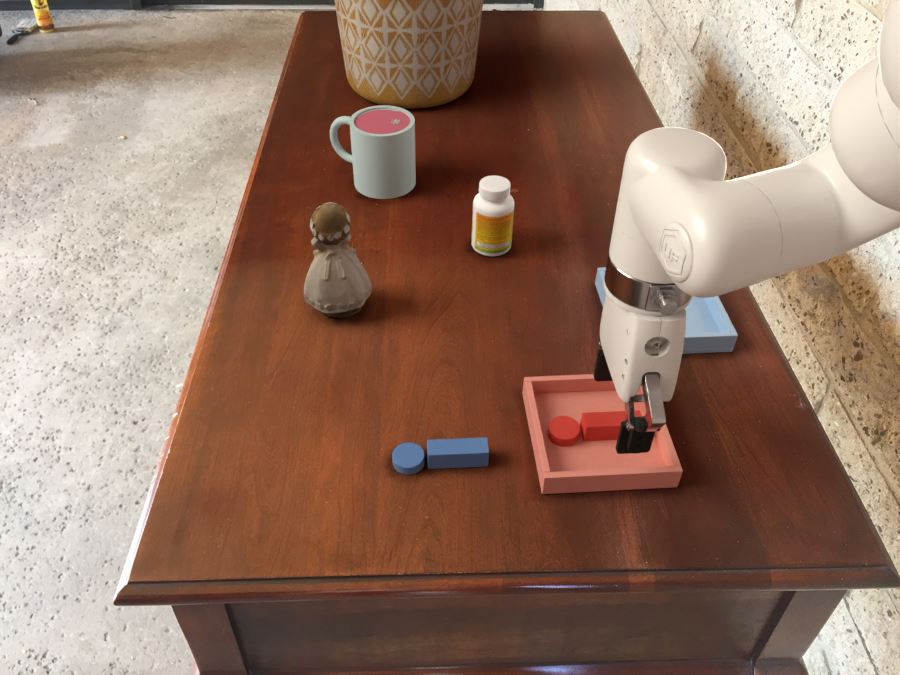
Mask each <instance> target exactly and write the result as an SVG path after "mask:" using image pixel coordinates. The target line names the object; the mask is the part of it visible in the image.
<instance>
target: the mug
mask: <svg viewBox="0 0 900 675" xmlns="http://www.w3.org/2000/svg"><path fill="white" fill-rule="evenodd" d="M342 125H347V126H349V134H350V147H351V154H350V153H349V152H347V151H346V150H345V149H344V148H343V146H342V145H341V143H340V140H339V137H338V130H339V128H340V127H341V126H342ZM329 140H330V143H331V146H332V148H333V150H334V151H335V152H336V154H337V155H338V156H339V157H340V158H341V159H342V160H343V161H345V162H347V163H350V164H352V174H353V185H354V188H355V190H356V191H357V192H358V193H359V194H361V195H363V196H365V197H367V198H371V199H377V200H391V199H396V198H400V197H403V196H405V195H407V194H409V193H410V192H411V191H412V190H414V188H415V187H416V184H417V175H416V168H417V167H416V120H415V116H414V114H413V113H411V111H409V110H408V109H403V108H400V107H396V106H388V105H379V104H378V105H372V106H368V107H363V108H361V109H359V110H357V111H356V112H354V113H353V114H351V116H350V115H342V116H339V117H336V118H335V119H334V120H333V122H332V123H331V124H330V128H329Z"/></svg>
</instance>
